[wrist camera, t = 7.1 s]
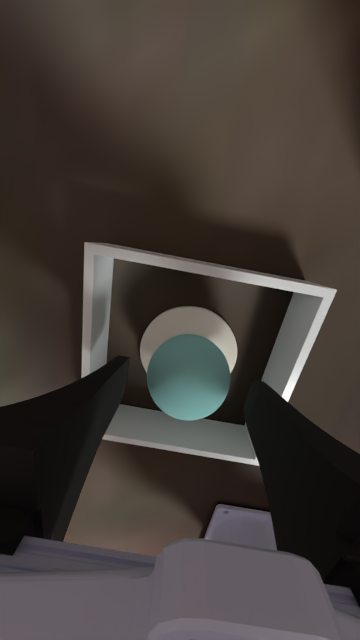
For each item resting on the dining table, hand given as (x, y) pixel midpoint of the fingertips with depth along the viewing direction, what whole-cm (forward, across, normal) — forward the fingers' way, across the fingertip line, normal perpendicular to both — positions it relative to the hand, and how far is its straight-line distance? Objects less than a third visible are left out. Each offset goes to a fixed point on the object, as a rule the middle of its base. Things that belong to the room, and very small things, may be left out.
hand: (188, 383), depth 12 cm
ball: (+3, 0, 0) cm, 3 cm away
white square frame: (+4, 0, 0) cm, 4 cm away
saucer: (+4, 0, 0) cm, 4 cm away
